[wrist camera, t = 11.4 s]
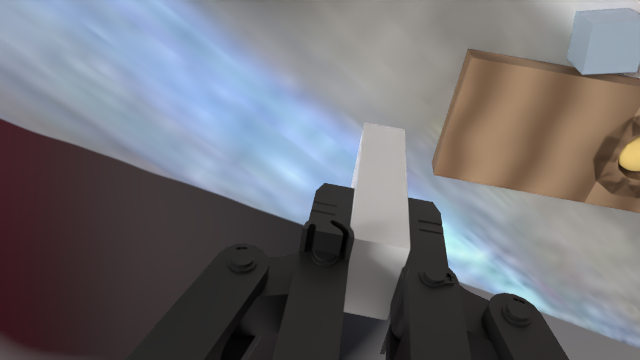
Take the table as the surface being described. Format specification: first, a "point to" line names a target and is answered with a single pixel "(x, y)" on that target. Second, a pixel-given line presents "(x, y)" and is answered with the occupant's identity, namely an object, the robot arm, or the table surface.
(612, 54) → the cube
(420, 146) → the table surface
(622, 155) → the ball
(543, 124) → the board
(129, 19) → the table surface
